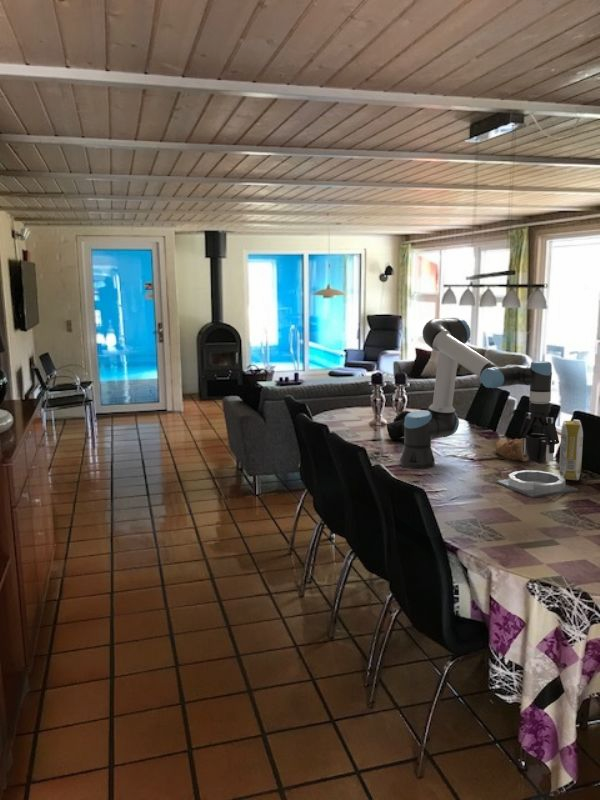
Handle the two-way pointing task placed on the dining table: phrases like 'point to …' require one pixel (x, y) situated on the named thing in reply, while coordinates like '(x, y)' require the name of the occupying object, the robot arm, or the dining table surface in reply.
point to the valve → (397, 426)
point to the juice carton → (571, 449)
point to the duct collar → (537, 483)
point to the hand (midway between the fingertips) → (538, 457)
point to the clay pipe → (511, 449)
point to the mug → (536, 446)
